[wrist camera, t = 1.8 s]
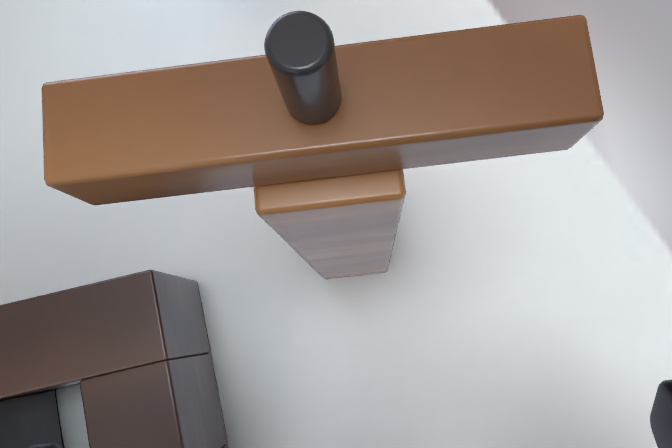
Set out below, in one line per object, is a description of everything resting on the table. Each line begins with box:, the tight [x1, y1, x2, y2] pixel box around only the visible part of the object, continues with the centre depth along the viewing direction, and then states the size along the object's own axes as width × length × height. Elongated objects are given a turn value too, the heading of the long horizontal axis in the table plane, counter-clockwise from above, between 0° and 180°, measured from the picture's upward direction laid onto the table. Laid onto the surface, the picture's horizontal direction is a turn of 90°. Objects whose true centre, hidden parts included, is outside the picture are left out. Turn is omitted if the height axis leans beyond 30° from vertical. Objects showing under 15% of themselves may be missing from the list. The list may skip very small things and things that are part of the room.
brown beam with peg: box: [42, 11, 604, 279], centre depth 14 cm, size 2×7×16 cm, turn 96°
